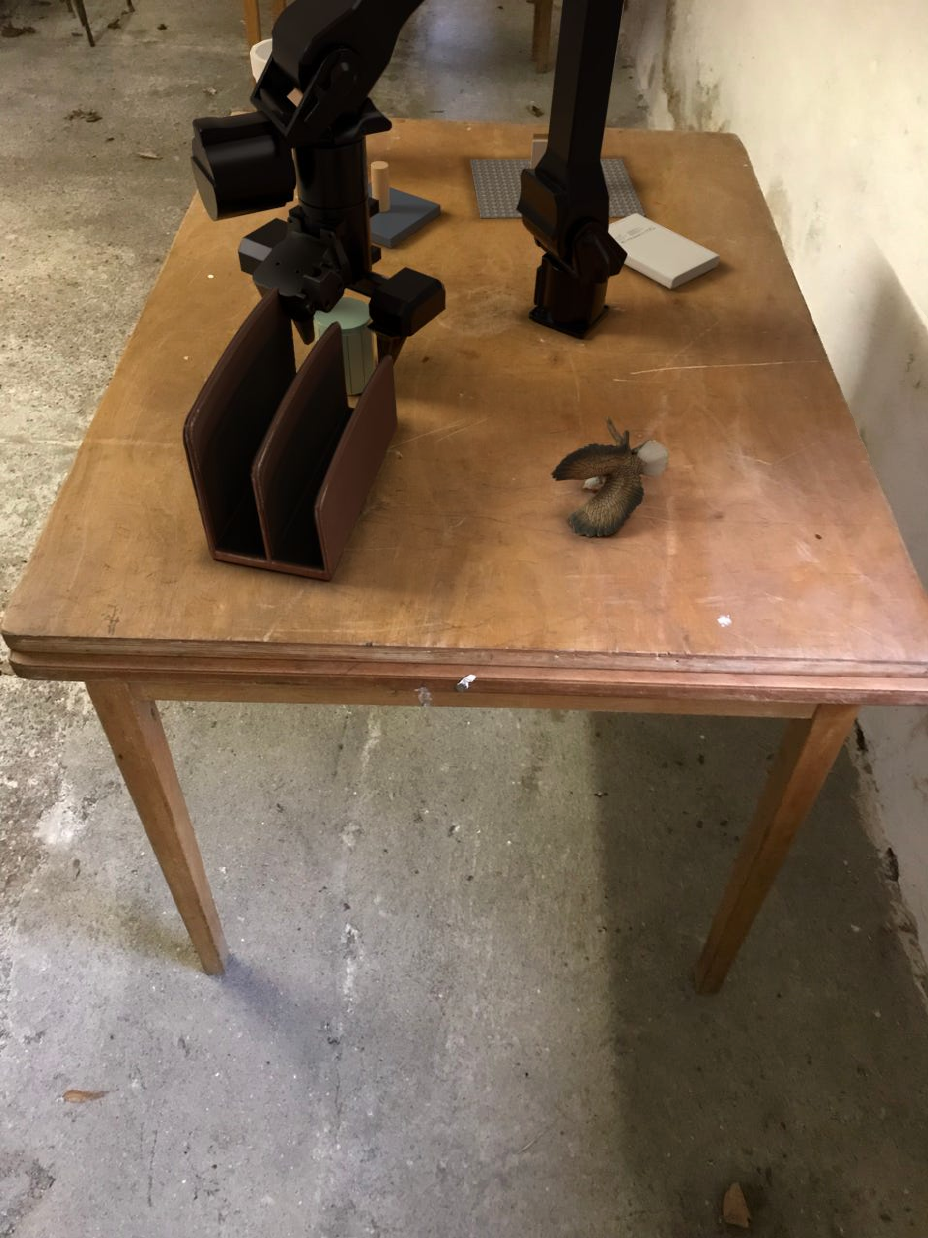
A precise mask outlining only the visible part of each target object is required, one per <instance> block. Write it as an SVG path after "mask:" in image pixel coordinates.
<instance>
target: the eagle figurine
mask: <svg viewBox="0 0 928 1238" xmlns="http://www.w3.org/2000/svg"><path fill="white" fill-rule="evenodd" d="M605 423H606V428H607V429H608V432H609V433H610V436H611V437H612V439H613V440H614V441H615V444H612V443H610V444H604V443H602V444H599V443H597V442H593V443H588V444H587V445H583V446H582V447H579V448H577V449H576V450H575V449H574V450H573V451H571V452H570V453H568V454H566V455H565V457H563V458H561V460H560V461H559V463H558V464H556V465H555V467H554V469H553V470H552V472H550V476H551V478H552V479H554V481H555V482H562V481H573V480H574V481H584V485H583V486H582V489H583V490H584V489H588V490H592V489H595V488H598V487H599V486H601V487H600V488H599V489H598V491H597V492H596V493H594V494H593V496H592V497H591V498H590V499H588V501H587V502H586V503H584V504H583V505H582V506H580V507H579V508H577V509H576V510H574V511H573V512H571V513H570V514H569V515H568V519H569V520H570V521H569V525H570V526H571V527H572V531H573V532H574V533H577V535H578V536H584V535H585V536H587V537H593V536H596V535H597V537H602V536H610V535H612V534H614V533H615V532H617V531H619V530H620V529H621V528H622V527H624V525H625V523H626V521H628V519H629V518H630V517H631V514H633V512H634V511H636V509H637V507H639V506H640V505H641V504H642V502H643V499H644V498H643V497H644V496H645V492H644V491H645V488H643V482H642V481H641V480H642V477H641V475H642V476H645V477H649V478H654V479H657V478H660V477H661V476H662V475H663V473H664V471H665V469H666V468H667V465H668V464H669V457H670V454H669V452H668V449H667V448H666V447H665V446H664V445H663V444H662V443H660V442H659V441H656V440H650V439H647V440H646V441H644V442H642V443H640V444H638V445H637V446H636V447H633V448H631V445H630V435H631V433H630V431H629V430H628V429H625V430H624V431H623V433H622V435H620V433H619V431H617V429H616V427H615V426H614V423H613V420H612V418H611V417H610V416H609V415H607V416H606V417H605Z"/></svg>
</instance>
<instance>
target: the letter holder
mask: <svg viewBox="0 0 928 1238" xmlns="http://www.w3.org/2000/svg"><path fill="white" fill-rule="evenodd" d="M277 292H278V287H274V286H273V287H272V288H271V289H270V290H269V291H268V293H267V294H266V295H265V296H264V297H263V298H262V297H261V299H260V300H259V302H258V303H257V304H255V306H254V307H253V308H252V310H251V311H250V313H249V314H248V315H247V317H246V318H244V320H243V322H242V323H241V324H240V326H239V327H238V329H237V330H236V331H235V334H234V335H233V337H232V338H231V339H230V340H229V343H228V344H227V346H226V347H225V349H224V351H223V352H222V354H221V355H220V357H219V358H218V360H217V362H216V363H215V365H214V367H213V368H212V370H211V372H210V374H209V375H208V376H207V378H206V380H205V382H204V383H203V385H202V387H201V389H200V390H199V393H198V394H197V396H196V398H195V400H194V402H193V403H192V405H191V408H190V409H189V411H188V413H187V414H186V417H185V420H184V422H183V426H182V433H181V435H182V436H181V437H182V446H183V449H184V452H185V459H186V462H187V466H188V471H189V476H190V479H191V483H192V487H193V491H194V495H195V499H196V502H197V508H198V512H199V515H200V520H201V524H202V527H203V531H204V534H205V535H204V536H205V539H206V542H207V548H208V549H207V550H208V553H209V555H210V557H211V558H212V559H213V560H214V561H223V562H229V563H234V564H240V565H245V566H249V567H256V568H261V569H266V570H271V571H275V572H276V571H277V572H281V573H288V574H293V575H298V576H304V577H308V578H313V579H319V580H322V581H331V579H332V578H333V575H334V572H335V571H336V568H337V567H338V563H339V561H340V559H341V557H342V554H343V553H344V550H345V547H346V545H347V543H348V541H349V538H350V536H351V534H352V531H353V529H354V526H355V525H356V522H357V521H358V517H359V515H360V513H361V512H362V511H361V510H362V508H363V506H364V504H365V501H366V499H367V497H368V495H369V492H370V491H371V488H372V486H373V483H374V482H375V481H374V480H375V479H376V476H377V473H378V471H379V469H380V468H381V464H382V462H383V459H384V458H385V455H386V452H387V450H388V448H389V445H390V443H391V440H392V438H393V436H394V434H395V431H396V429H397V428H398V426H399V425H398V420H399V419H398V409H397V394H396V385H395V369H394V367H393V360H392V357H391V355H384V356H383V358H382V359H381V361H380V363H379V364H378V363H377V366H375V367H376V369H375V371H374V372H373V374H372V376H371V378H370V379H369V381H368V383H367V385H366V386H365V388H364V390H363V392H362V393H360V396H359V397H358V400H357V402H356V404H355V405H354V407H352V406H349V399H348V395H347V390H346V379H345V366H344V355H343V343H342V328H341V325H340V323H339V322H338V321H335V322H334V323H331V325H330V326H329V327H328V328H327V329H326V330H325V331H324V333H323V334H322V336H321V337H320V338H319V340H318V341H317V342H316V341H315V344H314V345H313V347H311V350H310V352H309V353H308V355H307V356H306V357H305V359H304V361H303V362H302V364H301V365H300V367H299V368H298V370H297V365H296V354H295V342H294V335H293V321H292V319H291V318H290V317H287V316H285V315H284V312H283V309H282V306H281V303H280V300H279V296H278V293H277Z"/></svg>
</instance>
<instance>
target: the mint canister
mask: <svg viewBox="0 0 928 1238" xmlns="http://www.w3.org/2000/svg"><path fill="white" fill-rule="evenodd" d="M368 304H369V303H366V302H365V301H363V300H361V299H358V298H355V297H348V296H342V298H341V299H340V300H339V301H338V303H337V304H336V305H335V307H334V308H333V309H332V311H331V312H329V313H324V312H322V311H316V314H315V315H314V321H313V322H314V331H315V339H314V341H315V343H316V342H317V341H318V340H319V338H320V337H321V336H322V334H323V333H324V331H325V330H326V329H327V328H328V327H329V326H330V325H331V323H334V322H335V321H338V322H339V323H340V325H341V328H342V343H343V355H344V366H345V379H346V390H347V396H355V395H359V394H362V392H363V390H364V388H365V386H366V385H367V383H368V381H369V379H370V378H371V376H372V374H373V372H374V371H375V369H376V367H377V366H376V353H375V352H376V351H375V349H376V348H375V333H374V332H372V331H371V330H369V329H368V328H367V325H369V324H370V323H371V322H373V321H372V319H371V318H370V316H369V305H368Z"/></svg>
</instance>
